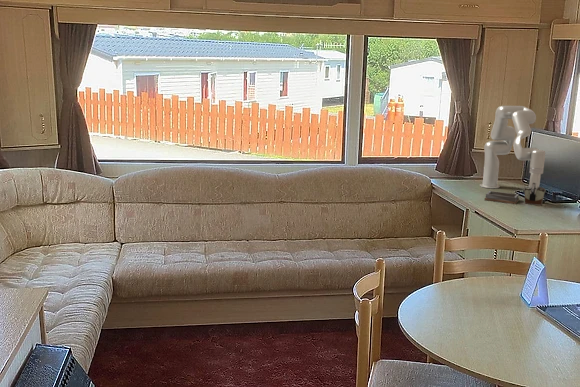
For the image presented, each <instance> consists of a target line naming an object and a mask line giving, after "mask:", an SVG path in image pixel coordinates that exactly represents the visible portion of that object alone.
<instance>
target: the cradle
mask: <svg viewBox="0 0 580 387" xmlns="http://www.w3.org/2000/svg"><path fill="white" fill-rule="evenodd" d="M519 197H520V194H518V193H511V192H510V193H509V192H501V191H495V190H494V191H492V190H489V191H488V192H486V193H485V198H484V201H486V202H487V201H488V202H495V203H503V204H504V203H505V204H511V205H512V204H513V205H517V203H518V202H519V201H520V198H519Z"/></svg>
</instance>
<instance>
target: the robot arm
mask: <svg viewBox="0 0 580 387" xmlns="http://www.w3.org/2000/svg"><path fill="white" fill-rule="evenodd" d="M494 118H495V119H494V122H493V125H492V128H491V131H490V138H491V139H492V140H489V141H486V142H485V144H484V145H483V146H484V148H483V149H484V162H483V163H484V164H483V175H482V177H483V178H482V183H479V187H480V188H486V189H499V188H500V184H498V182H499V180H498V179H499V171H500V170H499V168H500V159H499V158H498V156H501V155H502V156H505V155H509V154H510V152H511V151H512V148H513V151H514V155H515V157H516V159H517V160H519V161H530V162H529V163H530V164H529V172H528V173H529V174H530V177H529V184H528V186H529V190H530V189H531V192H530V199H529V200H530V201H535V198H536V190H538V188H539V187H540V183H541V177H542V176H541V175H543V174H544V168H545V159H546V151H545V150H543V149H540V148H537V147H523V146H522V139H525V138H526V137H529V136H530V135H531V134H532V129H531V126H530V125H533V124H534V123H536V120H537V115H536V112H534V111H533V109H531V108H528V107H527V106H524V105H500V106H498V107H497V108H496V109H495V117H494ZM509 120H512V122H513V123H512V124H513V126H511V125H509Z"/></svg>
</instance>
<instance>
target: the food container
mask: <svg viewBox="0 0 580 387" xmlns="http://www.w3.org/2000/svg"><path fill="white" fill-rule="evenodd" d="M523 191H524V205H535V206H542V205H543V202H544V196H545V193H547V192H546V191H547V190H546V188H544V187H541V186H539V188H538V190H536V198H535V201H530V200H529V199H530V192H531V189H530V190H529V185H528V186H527V185H526V186H524V187H523Z"/></svg>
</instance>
